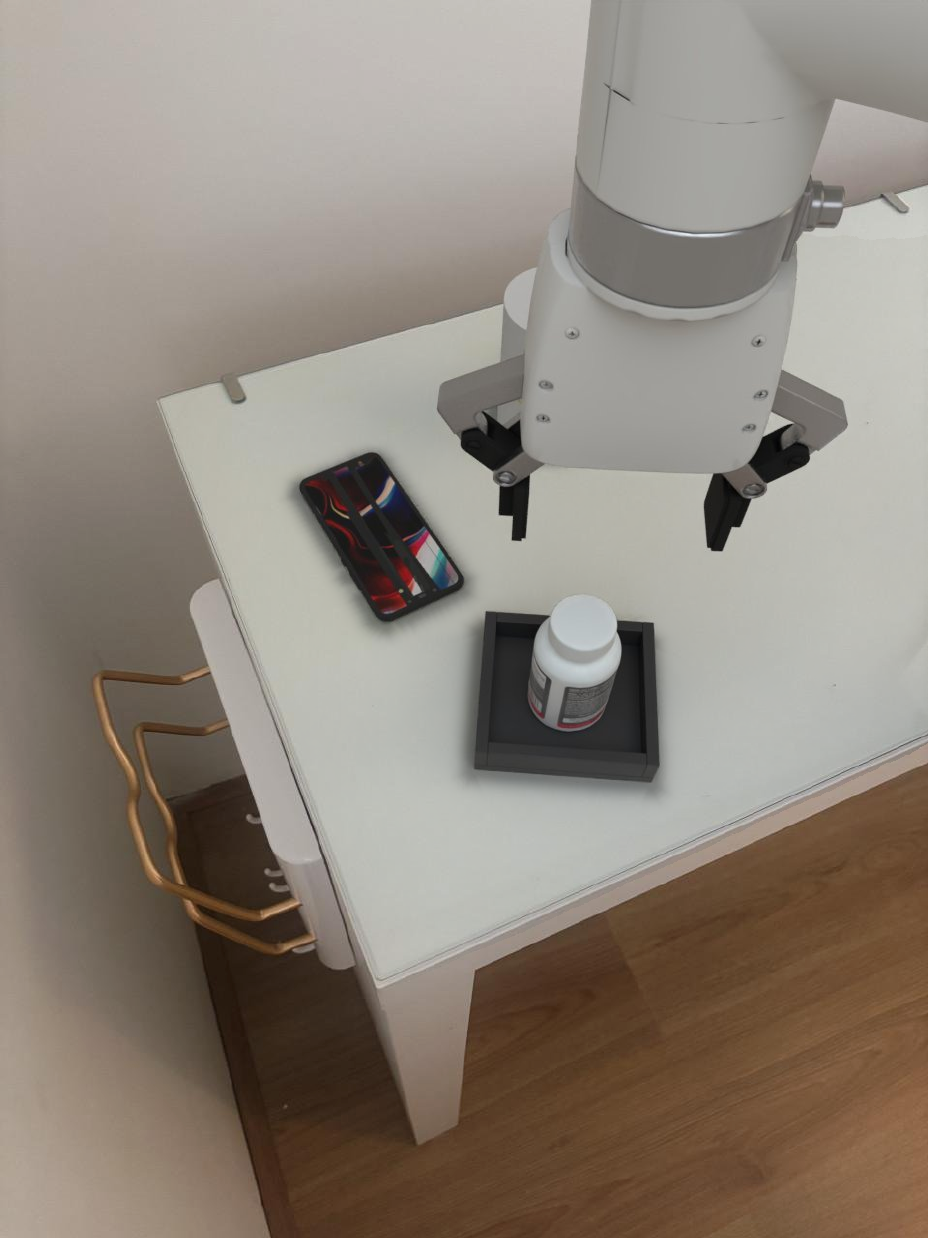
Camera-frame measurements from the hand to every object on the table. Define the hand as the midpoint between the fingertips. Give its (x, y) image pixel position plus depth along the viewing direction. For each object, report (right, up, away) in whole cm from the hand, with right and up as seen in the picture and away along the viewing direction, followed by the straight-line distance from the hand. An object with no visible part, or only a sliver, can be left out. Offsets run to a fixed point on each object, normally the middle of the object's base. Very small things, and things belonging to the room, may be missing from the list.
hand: (615, 523), depth 46 cm
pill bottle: (-1, -10, +16) cm, 19 cm away
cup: (-1, +12, +31) cm, 33 cm away
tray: (-1, -11, +17) cm, 20 cm away
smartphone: (-14, +2, +24) cm, 28 cm away
